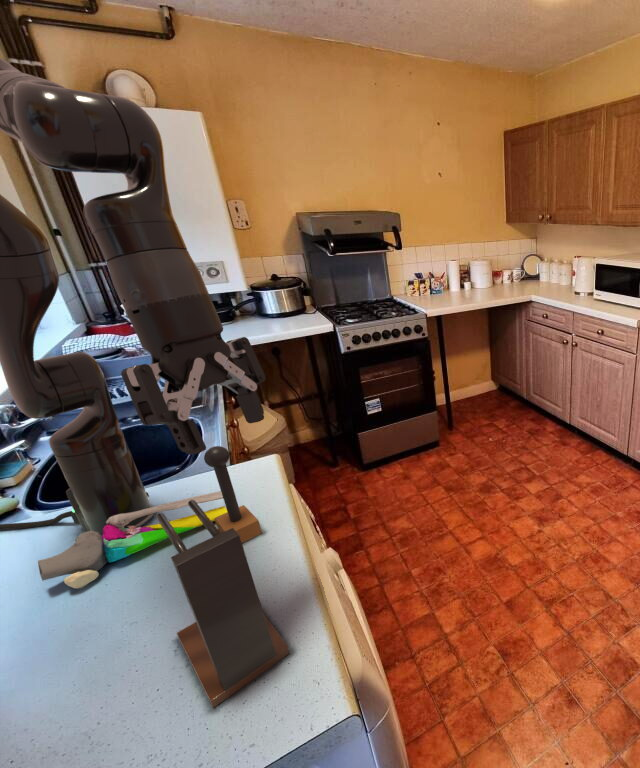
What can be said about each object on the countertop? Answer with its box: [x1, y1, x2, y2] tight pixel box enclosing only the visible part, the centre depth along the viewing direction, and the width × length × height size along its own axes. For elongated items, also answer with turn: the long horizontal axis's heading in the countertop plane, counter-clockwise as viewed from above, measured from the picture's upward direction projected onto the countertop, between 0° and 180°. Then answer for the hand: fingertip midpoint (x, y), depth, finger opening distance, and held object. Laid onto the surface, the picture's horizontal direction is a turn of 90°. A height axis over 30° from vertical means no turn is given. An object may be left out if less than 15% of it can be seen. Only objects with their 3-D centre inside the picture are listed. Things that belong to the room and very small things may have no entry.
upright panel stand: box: [155, 500, 291, 708], centre depth 55 cm, size 14×9×20 cm, turn 49°
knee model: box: [37, 490, 227, 590], centre depth 75 cm, size 9×8×25 cm
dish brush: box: [203, 445, 263, 544], centre depth 77 cm, size 7×5×18 cm
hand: (228, 436), depth 51 cm, fingers open, 8 cm apart
